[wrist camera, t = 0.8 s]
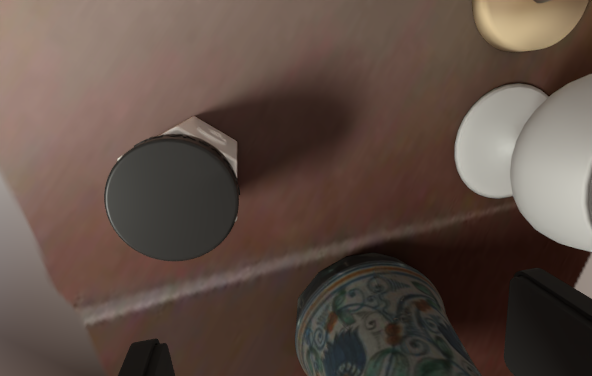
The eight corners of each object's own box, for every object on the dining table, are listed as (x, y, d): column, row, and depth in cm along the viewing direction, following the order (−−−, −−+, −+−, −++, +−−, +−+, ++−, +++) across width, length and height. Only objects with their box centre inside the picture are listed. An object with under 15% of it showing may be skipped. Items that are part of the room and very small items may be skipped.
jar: (258, 151, 34) (268, 183, 23) (216, 221, 35) (205, 284, 24) (172, 100, 32) (134, 107, 20) (130, 176, 33) (72, 223, 22)
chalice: (550, 202, 41) (717, 264, 27) (437, 208, 39) (551, 278, 25) (577, 74, 37) (788, 66, 23) (452, 73, 35) (599, 62, 21)
